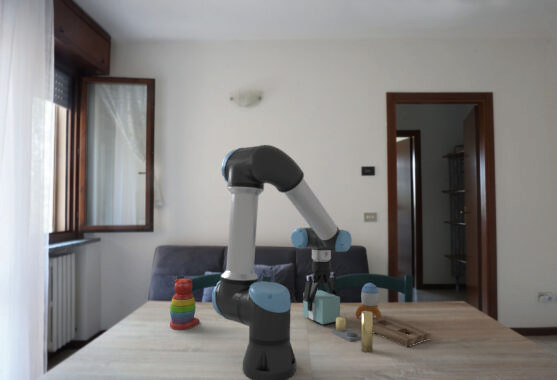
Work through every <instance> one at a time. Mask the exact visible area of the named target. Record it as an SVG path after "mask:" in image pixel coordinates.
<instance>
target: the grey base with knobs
mask: <svg viewBox="0 0 557 380" xmlns="http://www.w3.org/2000/svg"><path fill="white" fill-rule="evenodd" d="M346 320H347V318H345V317H343V316H340V317H337V318H336V321H335V328H333V329H331V333H332V334H334V335H335V336H338V337H339V338H342V339H343V340H346V341H348V342H352V340H354V341H357V340H361V339H360V338H361V334H359V333H358V332H355V331H353V330H351V329H349V328H346V324H347V321H346ZM356 339H357V340H356Z"/></svg>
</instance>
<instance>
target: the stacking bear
mask: <svg viewBox="0 0 557 380" xmlns="http://www.w3.org/2000/svg"><path fill="white" fill-rule="evenodd" d="M174 283H175V284H174V292H175V294H173V296H172V299H171V301H170V306H169V313H170V314H169V315H170V322H169V327H170V328H171V329H173V330H176V331H177V330H178V331H180V330H181V331H182V330H189V329H192V328H195V327H196V326H198V325H199V323H201V322H200V319H199V318H198V317H195V314H196V308H197V307H196V301H195V298H194V294H193V293H192V291H193V280H192V279H191V278H176V279H175V280H174Z"/></svg>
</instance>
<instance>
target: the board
mask: <svg viewBox="0 0 557 380" xmlns="http://www.w3.org/2000/svg"><path fill="white" fill-rule="evenodd" d="M373 332H374V333H373V334H375V333H377V334H379V335H381V336H380V337H382V336H384V337H386V338H388V339H387V340H389V339H391V340H393V341H395V342H394V343H396V342H398V343H400V344H402V345H401V346H403V345H405V346H410V345H413V344H416V343H418V342H421V341H424V340H427V339H432V338H431V335H432V334H431V332H429V331H426V330H424V329H421V328H419V327H416V326H413V325H410V324H408V323H405V322H403V321H399V320H396V319H394V318H391V317H388V316H381V318H373ZM377 334H376V335H377ZM407 334H408V335H407ZM379 335H378V336H379ZM384 337H383V338H384ZM386 338H385V339H386ZM391 340H390V341H391ZM393 341H392V342H393ZM398 343H397V344H398ZM400 344H399V345H400ZM405 346H404V347H405ZM413 346H414V345H413ZM410 347H411V346H410Z"/></svg>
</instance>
